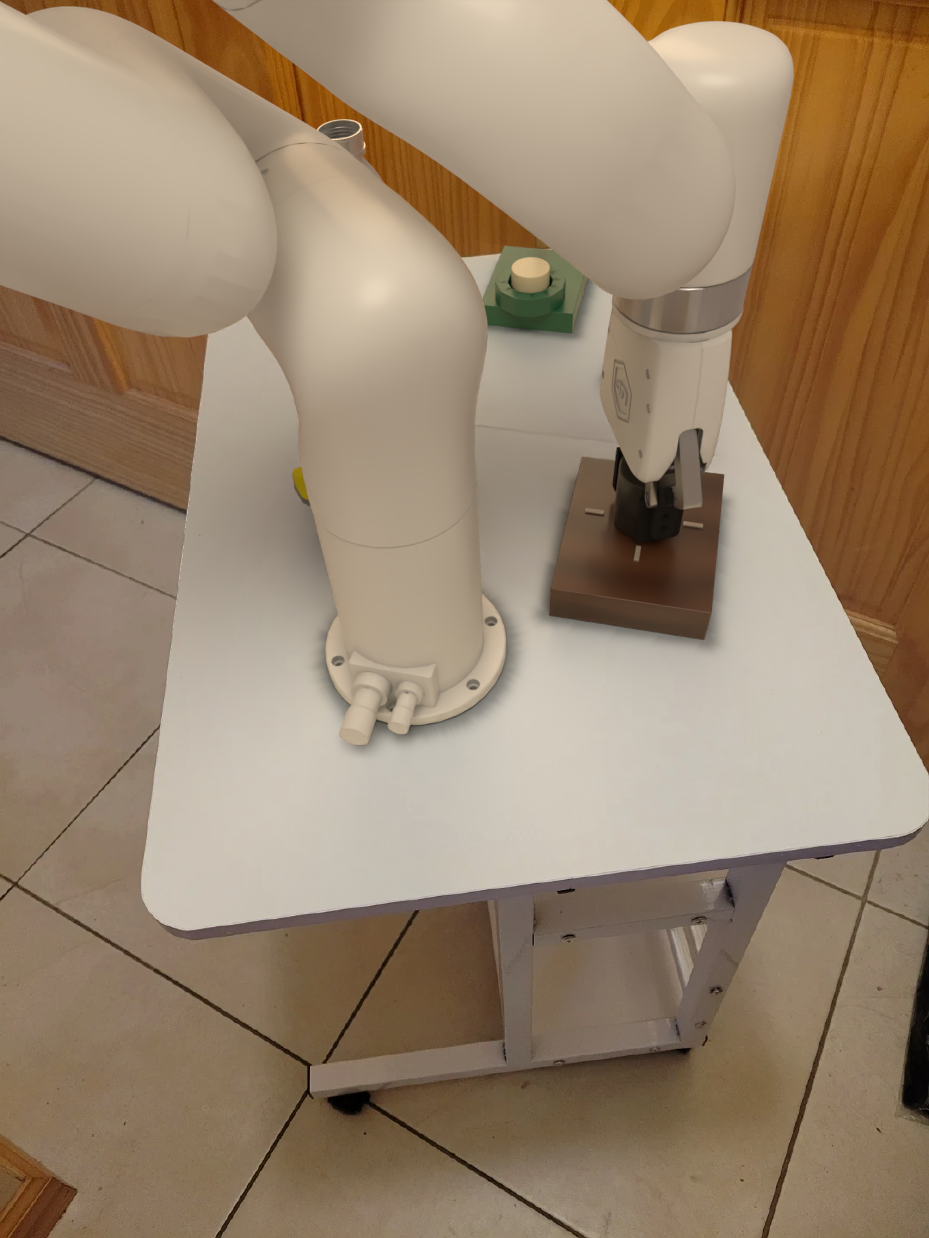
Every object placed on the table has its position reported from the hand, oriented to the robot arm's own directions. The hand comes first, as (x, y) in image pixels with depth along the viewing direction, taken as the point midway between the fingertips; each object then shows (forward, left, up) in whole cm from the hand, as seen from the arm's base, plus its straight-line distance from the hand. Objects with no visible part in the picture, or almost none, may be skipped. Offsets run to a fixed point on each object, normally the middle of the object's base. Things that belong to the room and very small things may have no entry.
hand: (644, 509), depth 65 cm
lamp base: (+32, +14, -4) cm, 35 cm away
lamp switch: (+29, +14, 0) cm, 32 cm away
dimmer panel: (-1, 0, -4) cm, 4 cm away
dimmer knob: (0, 0, -1) cm, 1 cm away
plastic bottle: (+21, +28, -4) cm, 35 cm away
